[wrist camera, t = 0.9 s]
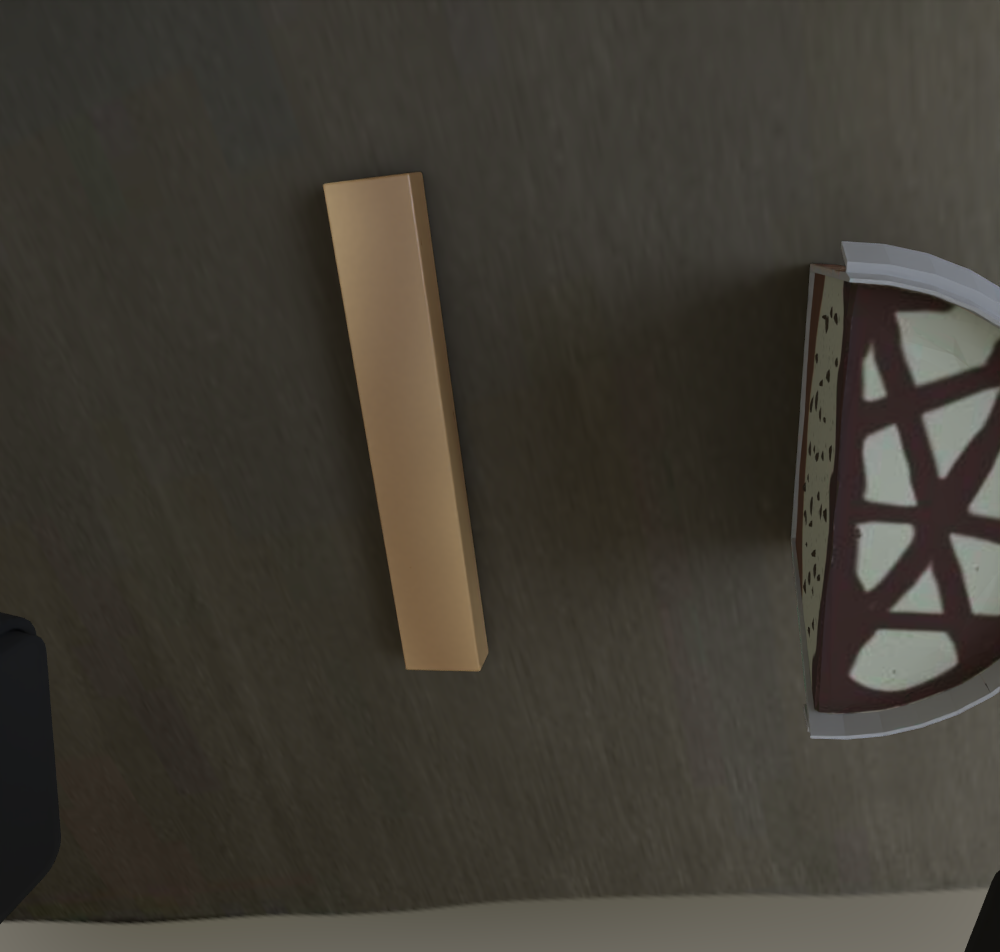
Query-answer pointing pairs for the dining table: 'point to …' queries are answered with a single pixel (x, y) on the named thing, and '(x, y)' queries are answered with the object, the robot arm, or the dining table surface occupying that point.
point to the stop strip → (409, 416)
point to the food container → (897, 493)
